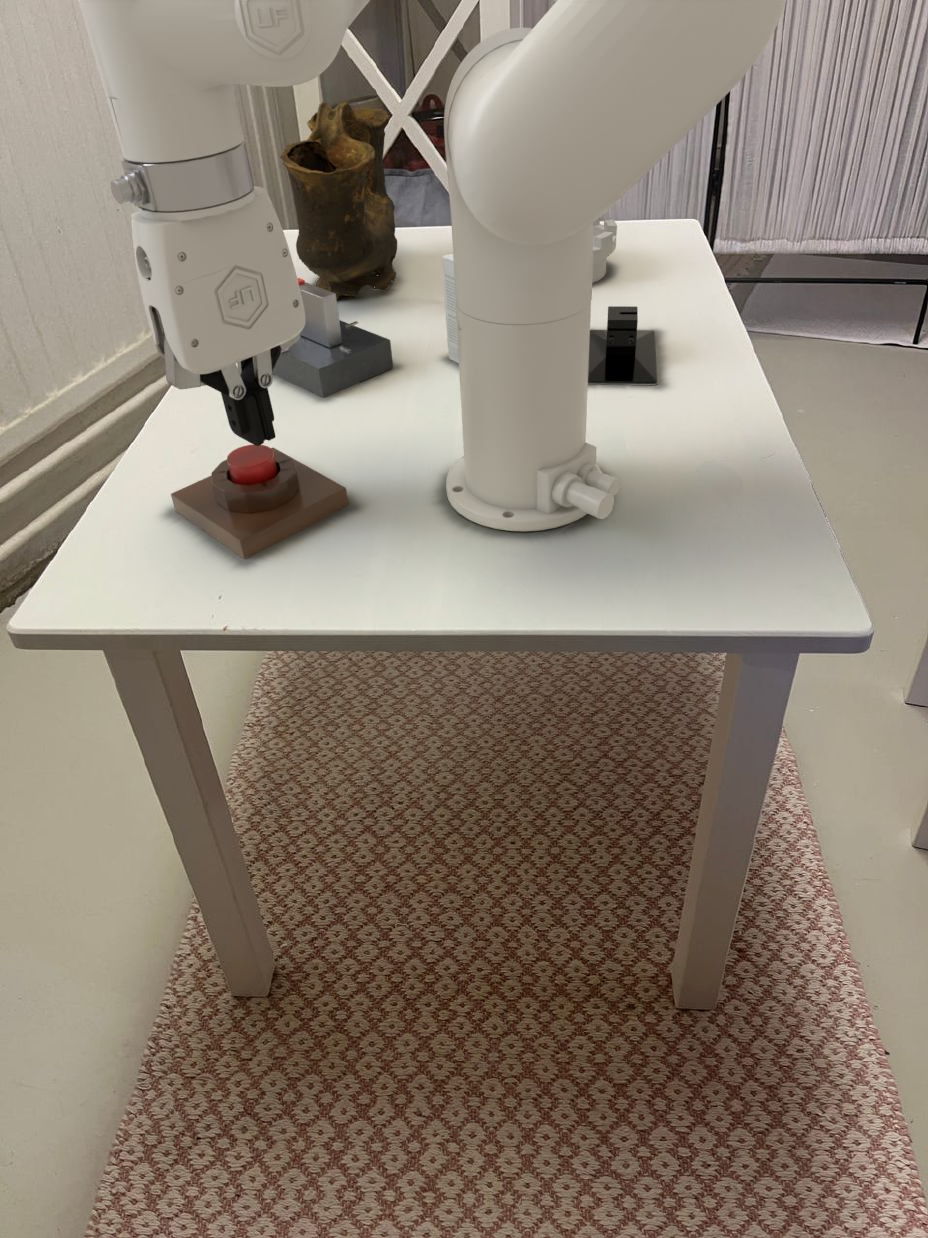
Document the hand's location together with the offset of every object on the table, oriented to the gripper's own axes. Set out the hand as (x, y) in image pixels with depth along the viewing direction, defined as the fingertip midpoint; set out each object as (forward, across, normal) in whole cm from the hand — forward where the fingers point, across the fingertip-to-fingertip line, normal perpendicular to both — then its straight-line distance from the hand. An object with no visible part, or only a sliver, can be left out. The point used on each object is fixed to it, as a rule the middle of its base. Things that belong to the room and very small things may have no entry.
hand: (255, 436), depth 71 cm
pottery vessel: (+7, +37, +35) cm, 51 cm away
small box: (+7, +32, +7) cm, 34 cm away
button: (+3, -1, +1) cm, 3 cm away
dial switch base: (+6, +19, +19) cm, 28 cm away
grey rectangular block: (+3, +19, +19) cm, 27 cm away
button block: (+6, -1, +1) cm, 6 cm away
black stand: (+8, +40, -3) cm, 41 cm away
